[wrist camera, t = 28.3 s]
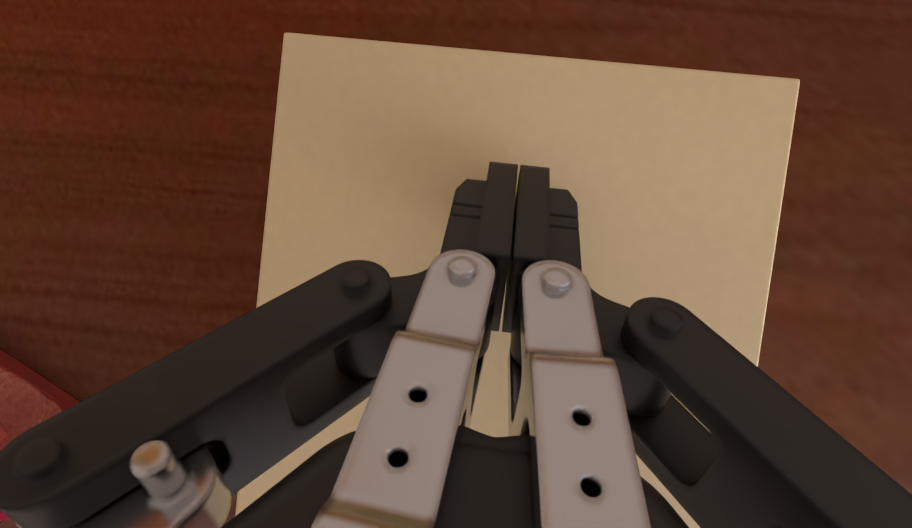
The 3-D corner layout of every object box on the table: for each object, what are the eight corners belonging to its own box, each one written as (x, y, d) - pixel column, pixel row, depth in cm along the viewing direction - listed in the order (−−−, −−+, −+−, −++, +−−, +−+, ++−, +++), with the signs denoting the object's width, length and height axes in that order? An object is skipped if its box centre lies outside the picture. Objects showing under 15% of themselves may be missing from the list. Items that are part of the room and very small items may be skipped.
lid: (294, 42, 15) (282, 30, 14) (784, 87, 14) (802, 78, 13) (234, 622, 16) (221, 642, 15) (694, 705, 15) (705, 731, 14)
